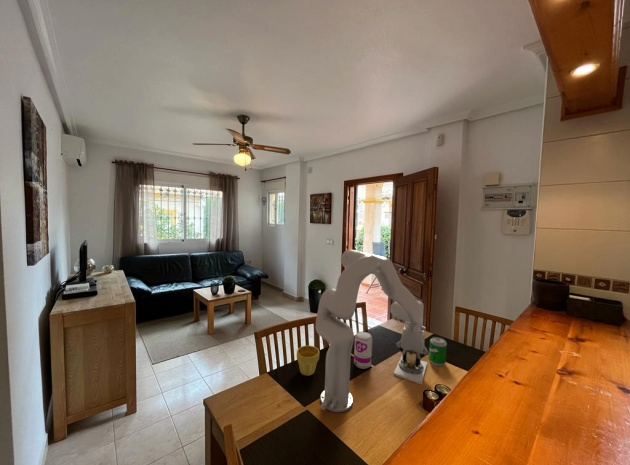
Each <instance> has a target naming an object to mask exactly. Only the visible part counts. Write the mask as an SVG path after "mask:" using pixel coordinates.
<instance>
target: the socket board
mask: <svg viewBox="0 0 630 465" xmlns="http://www.w3.org/2000/svg"><path fill="white" fill-rule="evenodd" d="M402 358H403V354H401V356H400V358H399V361H398V363H397V366H396V367H395V369H394V372H393V376H396V377H398V378H402V379H405V380H408V381H411V382H413V383H417V384H418V385H419V384H420V385H422V384H423V381H424V377H425V373H426V370H427V368H428V367H427V366H428V362H427V361H424V360H421V362H420V365H419V366H418V367H417V369H410V368H407V367H406V366H405V363H403V361H404V360H402Z"/></svg>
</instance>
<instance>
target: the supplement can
mask: <svg viewBox="0 0 630 465" xmlns="http://www.w3.org/2000/svg"><path fill="white" fill-rule="evenodd" d="M372 350H373V337H372V335H371V333H369V332H366V331H358V332H357V333H356V334H355V335H354V353H353V354H354V355H353V356H354V357H353V363H354V365H355V367H357V368H359V369H362V370H364V369H365V370H366V369H369V368H370V367H372V353H373V351H372Z"/></svg>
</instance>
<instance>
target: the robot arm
mask: <svg viewBox="0 0 630 465" xmlns="http://www.w3.org/2000/svg"><path fill="white" fill-rule="evenodd" d="M340 263H341V265H342V267H344V270H342V272H341V273H340V275H339V277H338V279H337V283H336V287H335V288H333V287H332V288H331V287H330V288H328V289H326V290H325V291H323V293H322V294H321V295H320V299H319V303H318V309H317V314H316V319H315V330H316V333H317V334H318V335H319V336H320V338H322V339H323V340H325V342H327V343H328V345H329V347H328V350H327V351H326V355H325V366H324V367H325V372H324V374H325V375H324V376H325V377H324V390H323V391H322V392H321V394H320V399H319V401H320V403H321V404H320V405H319V406H320V409H321V410H323V411H325V410H328V411H329V412H333V413H343V412H346V411H348V410H350V409H351V408H352V406H353V401H354V399H353V395H352V394H351V393H350V383H351V380H350V378H351V357H352V350H353V349H352V348H353V345H354V342H355V334H354V333H355V332H354V331H353V329H352V328H351V326H350V325H348V324H347V323H346V322H345V321H348V320H350V319H352V318H353V316H354V314H355V310H356V306H357V302H358V294H359V290H360V287H361V284H362V282H363V281H364V280H366V278H367V277H368V276H370V275H374V276H375V277H376V279H377V281H378V283H379V286H380V288H381V289H382V292H383V293H384V294H385V295H386V296H388V298H390V299H391V300H393V301H394V302H392V303H391V305H390V308H389V310H390V314H391V315H392V316H394V317H395V318H397V319H399V320H402V321H403V322H405V323H404V326H403V328H402V332H401V338H400V340H399V341H398V342H396V344H395V346H396V347H397V348H398V349H399V351H400V352H401V355H403V358H402V360H404V361H403V363H405V361H406V350H409V351H413V352H416V353H417V356H418V358H417V364H416V367H418V366H419V365H420V362H421V361H422V360H421V359H422V358H425V357H426V356H429V349H427V347H426V346H425V342H426V341H425V331H426V326H424V325H423V321H424V306H425V305H424V303H423V302H422V301H420V300H418V299H417V298H416V297H415V296H414V294H413V293H411V291H409V289H408V288H407V287H406V286H404V285H403V283H402V281H401V279H400V276H399V275H398V272H397V270H396V268H395V266H394V264H393V262H392V260H390V259H389V258H388V257H386V256H382V255H377V254H374V253H373V254H372V253H369V252H365V251H359V250H356V249H347V250H345V251H344V252H343V253H342V254H341V256H340ZM342 320H343V321H342Z"/></svg>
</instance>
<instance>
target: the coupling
mask: <svg viewBox="0 0 630 465" xmlns="http://www.w3.org/2000/svg"><path fill="white" fill-rule="evenodd" d="M417 358H418V356H417V353H416V352H413V351H409V350H406V361H405V366H406V367H407V368H410V369H417V367H416V364H417Z"/></svg>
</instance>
